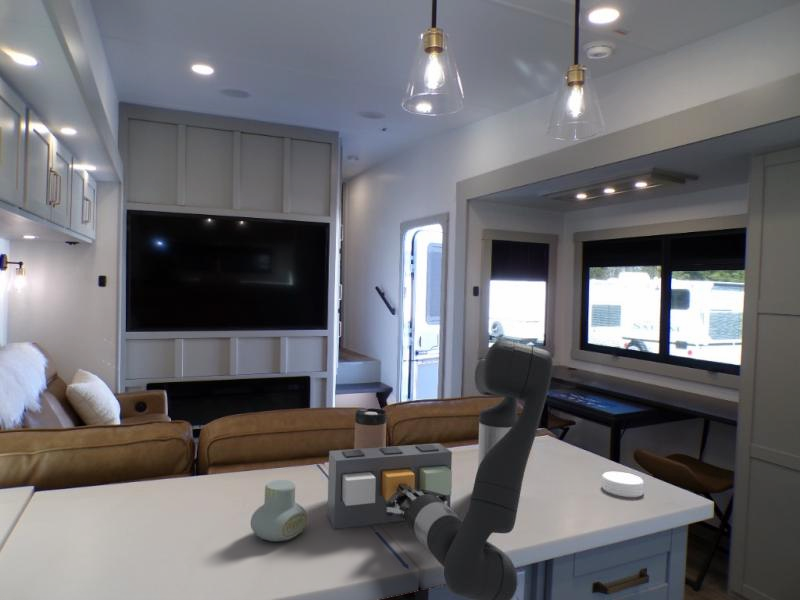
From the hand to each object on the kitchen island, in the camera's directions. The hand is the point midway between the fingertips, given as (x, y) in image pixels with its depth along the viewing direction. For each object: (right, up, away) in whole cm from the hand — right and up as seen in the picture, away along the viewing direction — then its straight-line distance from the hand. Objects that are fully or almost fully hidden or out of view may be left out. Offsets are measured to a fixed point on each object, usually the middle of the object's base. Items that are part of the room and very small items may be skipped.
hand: (401, 488), depth 106 cm
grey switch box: (-3, -8, +7) cm, 11 cm away
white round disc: (+57, -11, +27) cm, 64 cm away
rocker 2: (+7, -3, +6) cm, 10 cm away
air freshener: (-24, -8, -4) cm, 26 cm away
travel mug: (-8, -8, +19) cm, 22 cm away
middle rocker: (-1, -2, +4) cm, 5 cm away
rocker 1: (-9, -2, +1) cm, 10 cm away
